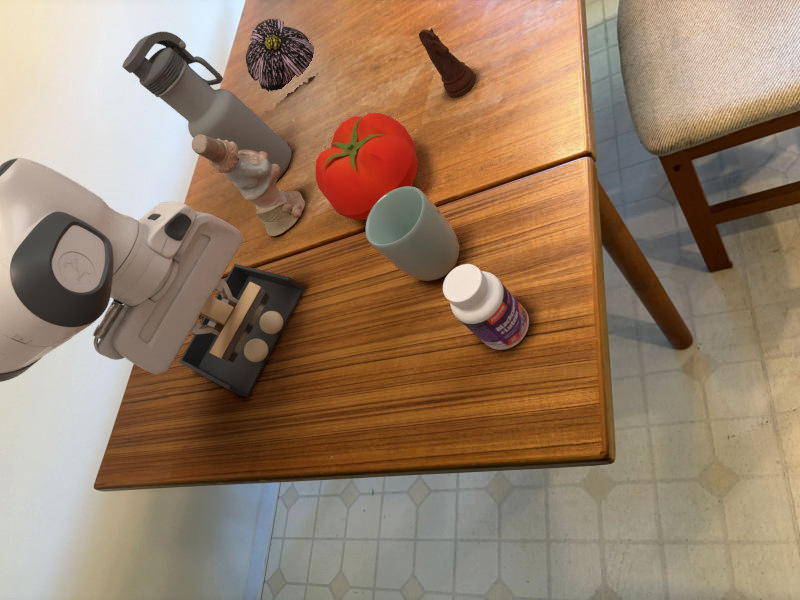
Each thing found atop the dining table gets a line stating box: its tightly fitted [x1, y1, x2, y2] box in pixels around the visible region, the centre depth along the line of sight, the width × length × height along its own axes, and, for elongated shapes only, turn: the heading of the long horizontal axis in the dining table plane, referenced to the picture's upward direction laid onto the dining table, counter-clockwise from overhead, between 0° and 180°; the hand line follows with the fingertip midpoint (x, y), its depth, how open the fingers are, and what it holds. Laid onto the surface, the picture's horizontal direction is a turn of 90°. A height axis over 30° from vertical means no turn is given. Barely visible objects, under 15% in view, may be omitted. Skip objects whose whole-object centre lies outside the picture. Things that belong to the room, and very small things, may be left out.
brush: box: [200, 282, 269, 363], centre depth 71 cm, size 10×5×7 cm
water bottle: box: [121, 31, 292, 181], centre depth 91 cm, size 10×10×28 cm
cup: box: [365, 186, 460, 282], centre depth 63 cm, size 8×8×10 cm
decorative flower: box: [245, 18, 315, 92], centre depth 109 cm, size 14×12×15 cm
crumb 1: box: [244, 339, 268, 362], centre depth 76 cm, size 3×3×3 cm
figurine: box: [191, 134, 306, 237], centre depth 83 cm, size 9×8×20 cm
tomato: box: [315, 112, 419, 221], centre depth 76 cm, size 14×16×10 cm
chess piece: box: [418, 27, 476, 98], centre depth 77 cm, size 5×5×10 cm
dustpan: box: [178, 263, 306, 399], centre depth 85 cm, size 26×17×3 cm, turn 61°
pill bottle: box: [442, 263, 530, 351], centre depth 54 cm, size 5×5×10 cm
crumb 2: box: [260, 311, 283, 334], centre depth 77 cm, size 3×3×3 cm
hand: (228, 318), depth 73 cm, fingers closed on brush, 2 cm apart
